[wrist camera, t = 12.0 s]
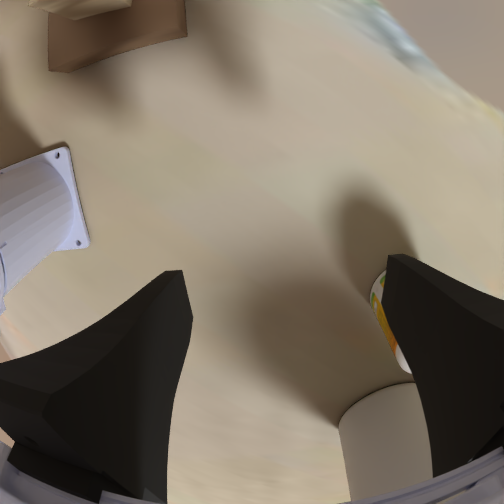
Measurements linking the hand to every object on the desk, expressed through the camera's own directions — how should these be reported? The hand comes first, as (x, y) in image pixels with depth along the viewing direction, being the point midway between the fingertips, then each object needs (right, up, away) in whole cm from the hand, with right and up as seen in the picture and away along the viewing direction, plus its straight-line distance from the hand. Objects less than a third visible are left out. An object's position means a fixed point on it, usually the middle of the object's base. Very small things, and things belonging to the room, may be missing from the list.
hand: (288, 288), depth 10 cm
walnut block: (-10, +18, +3) cm, 21 cm away
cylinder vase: (+15, -19, +21) cm, 32 cm away
